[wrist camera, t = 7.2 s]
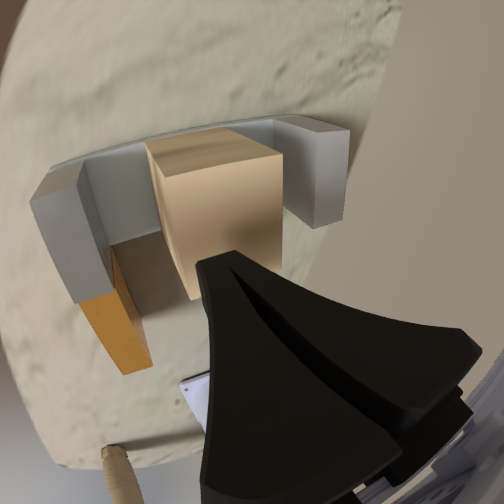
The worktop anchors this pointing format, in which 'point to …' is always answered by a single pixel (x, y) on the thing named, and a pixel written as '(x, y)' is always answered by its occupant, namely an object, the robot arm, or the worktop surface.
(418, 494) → the robot arm
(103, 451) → the handle
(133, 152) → the vise
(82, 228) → the free jaw
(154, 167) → the block
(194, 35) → the worktop surface
